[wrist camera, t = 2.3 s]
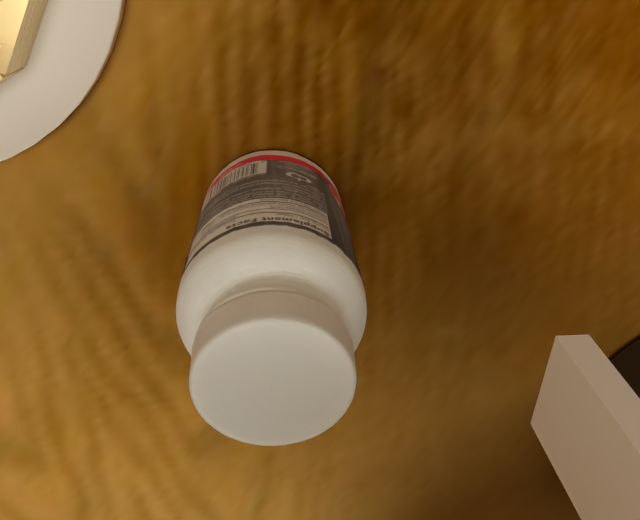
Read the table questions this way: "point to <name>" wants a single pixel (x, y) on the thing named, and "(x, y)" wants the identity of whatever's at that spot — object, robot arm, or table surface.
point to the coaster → (57, 70)
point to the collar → (18, 33)
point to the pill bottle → (271, 302)
